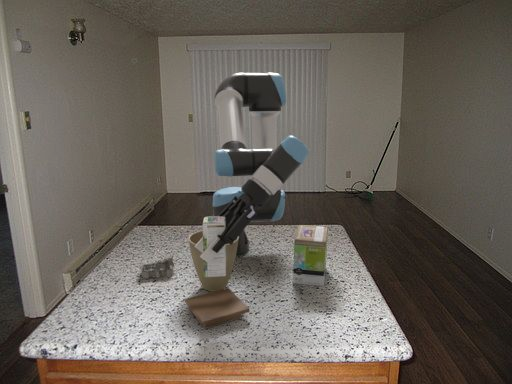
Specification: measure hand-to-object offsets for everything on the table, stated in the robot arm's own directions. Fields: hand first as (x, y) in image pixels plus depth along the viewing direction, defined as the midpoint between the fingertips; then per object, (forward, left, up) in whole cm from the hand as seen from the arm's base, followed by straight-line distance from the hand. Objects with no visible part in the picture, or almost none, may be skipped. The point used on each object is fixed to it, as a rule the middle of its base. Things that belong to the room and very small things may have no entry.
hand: (201, 254), depth 100 cm
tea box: (-6, +39, -18) cm, 44 cm away
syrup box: (+1, +3, -6) cm, 7 cm away
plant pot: (-14, +9, -18) cm, 25 cm away
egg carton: (-32, -3, -18) cm, 37 cm away
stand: (+1, +3, -17) cm, 18 cm away
